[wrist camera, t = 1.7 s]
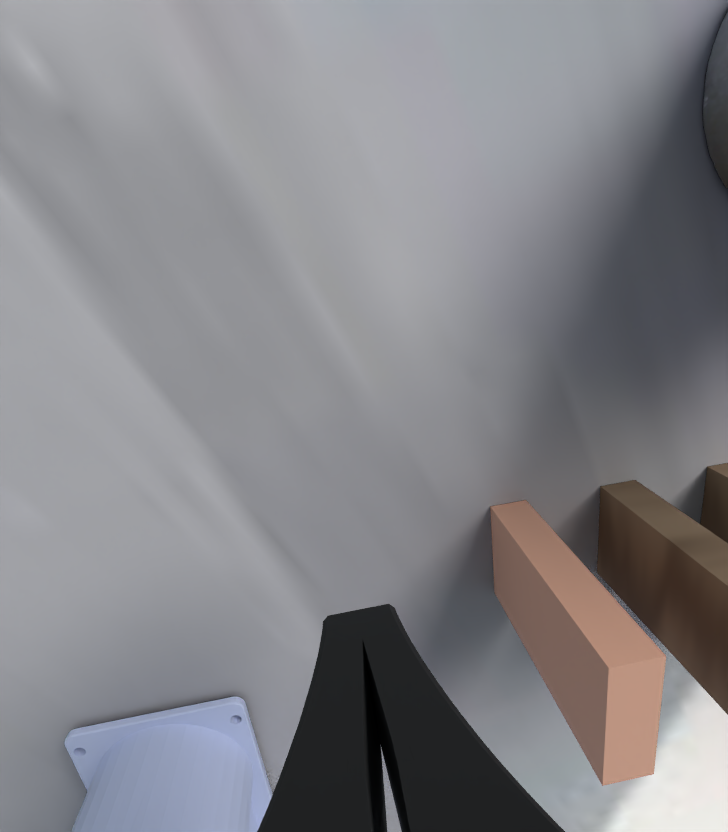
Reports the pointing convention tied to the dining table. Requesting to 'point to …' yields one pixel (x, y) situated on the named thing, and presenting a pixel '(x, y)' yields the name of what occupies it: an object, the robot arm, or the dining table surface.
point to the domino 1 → (580, 644)
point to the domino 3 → (716, 501)
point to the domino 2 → (669, 578)
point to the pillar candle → (718, 103)
